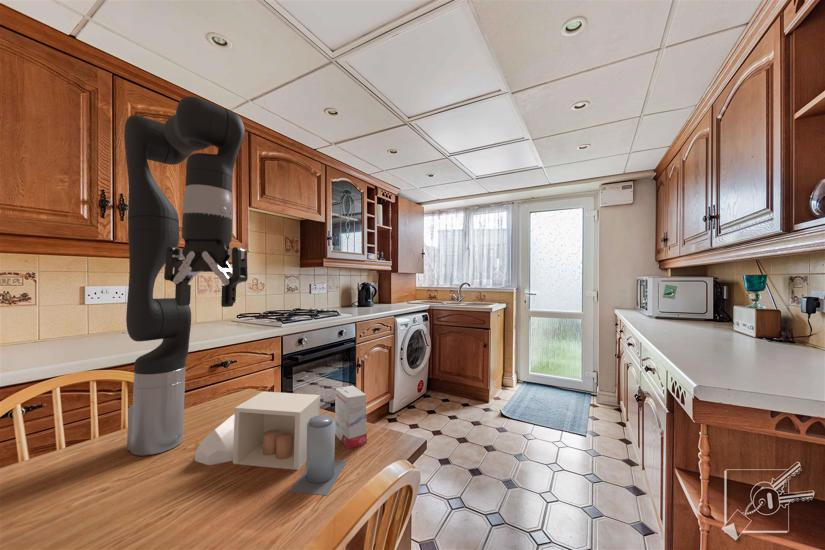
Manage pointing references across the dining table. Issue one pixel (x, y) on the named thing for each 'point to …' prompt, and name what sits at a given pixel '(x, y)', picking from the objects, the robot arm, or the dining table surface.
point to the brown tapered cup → (270, 442)
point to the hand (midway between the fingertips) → (205, 306)
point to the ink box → (350, 416)
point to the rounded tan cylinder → (283, 445)
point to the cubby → (273, 427)
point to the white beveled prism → (217, 445)
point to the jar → (320, 449)
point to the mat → (318, 488)
